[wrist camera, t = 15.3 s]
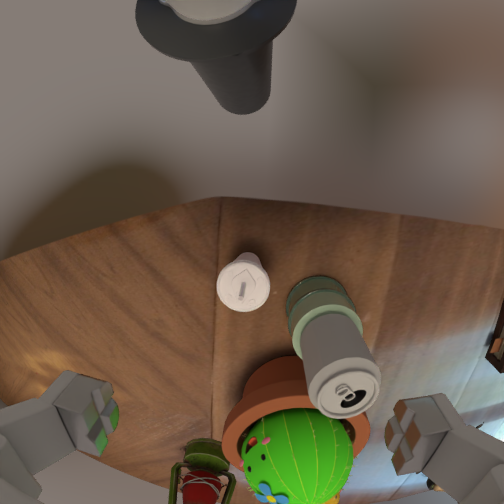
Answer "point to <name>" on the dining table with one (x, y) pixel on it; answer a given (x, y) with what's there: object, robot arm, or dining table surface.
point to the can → (338, 367)
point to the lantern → (202, 474)
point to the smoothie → (243, 283)
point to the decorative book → (497, 344)
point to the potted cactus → (290, 438)
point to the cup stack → (316, 305)
